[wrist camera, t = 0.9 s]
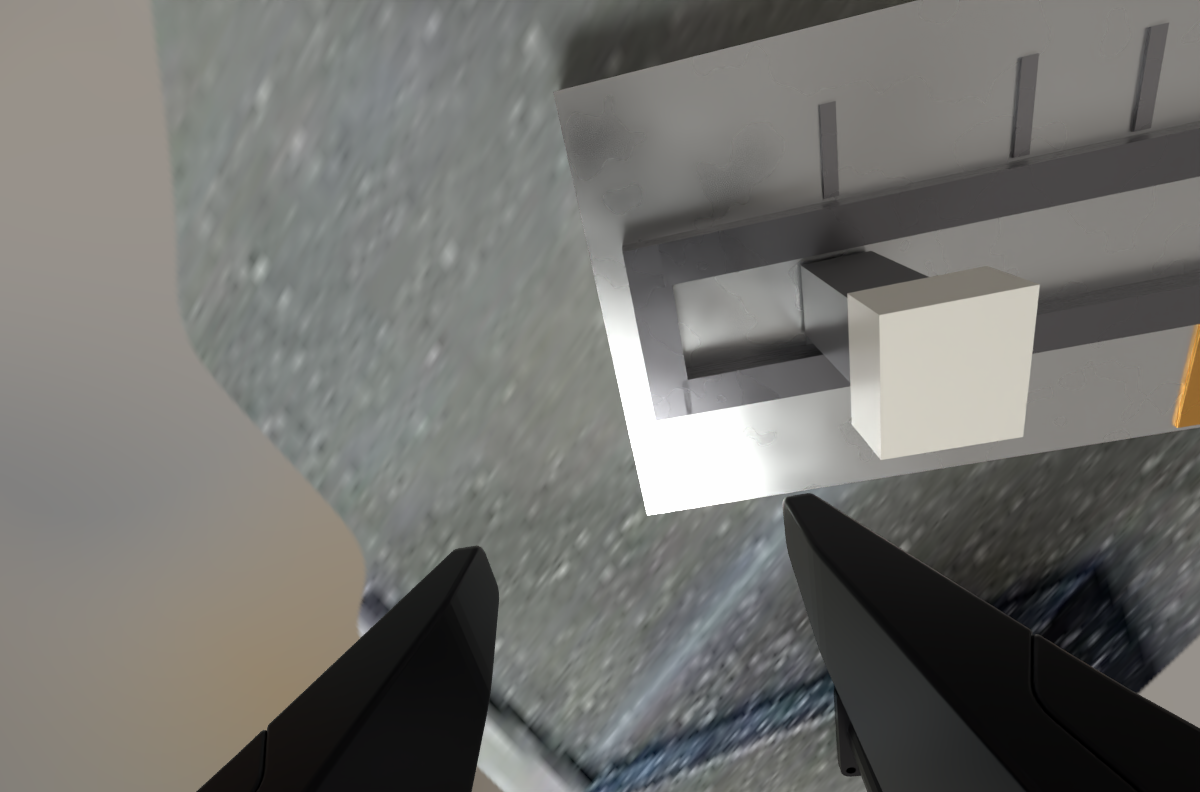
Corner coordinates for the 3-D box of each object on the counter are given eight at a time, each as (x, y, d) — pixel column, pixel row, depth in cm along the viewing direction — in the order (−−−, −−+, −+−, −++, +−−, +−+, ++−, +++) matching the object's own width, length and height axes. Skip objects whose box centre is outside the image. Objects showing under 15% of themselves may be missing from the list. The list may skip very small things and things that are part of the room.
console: (1320, 372, 20) (1433, 410, 17) (644, 484, 22) (648, 532, 20) (1494, -137, 14) (1707, -204, 11) (559, 96, 17) (548, 88, 14)
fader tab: (886, 335, 17) (1022, 436, 11) (793, 352, 18) (880, 460, 12) (885, 230, 16) (1040, 284, 10) (785, 251, 16) (879, 315, 10)
